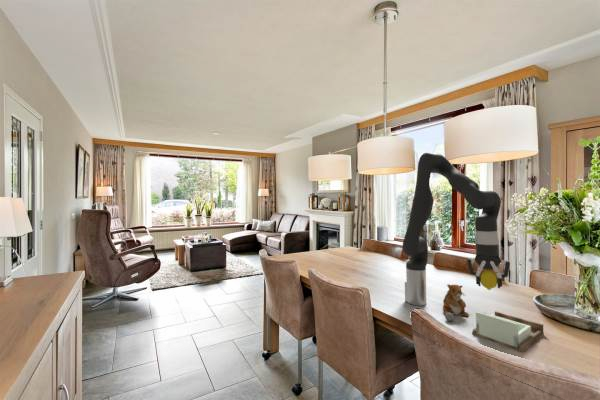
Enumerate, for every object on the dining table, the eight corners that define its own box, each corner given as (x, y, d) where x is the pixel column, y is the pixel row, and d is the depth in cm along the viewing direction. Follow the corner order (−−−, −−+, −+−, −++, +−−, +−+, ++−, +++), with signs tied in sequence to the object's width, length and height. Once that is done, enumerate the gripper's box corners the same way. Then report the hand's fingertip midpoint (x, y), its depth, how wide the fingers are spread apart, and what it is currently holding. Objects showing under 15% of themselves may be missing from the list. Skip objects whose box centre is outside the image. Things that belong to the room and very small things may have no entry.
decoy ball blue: (476, 319, 120) (476, 311, 120) (480, 317, 122) (480, 309, 122) (485, 322, 117) (485, 314, 117) (489, 320, 119) (489, 312, 119)
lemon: (501, 290, 106) (500, 269, 106) (492, 293, 103) (491, 271, 104) (485, 287, 111) (485, 266, 111) (477, 289, 108) (476, 268, 109)
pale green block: (476, 333, 107) (475, 312, 107) (491, 324, 114) (491, 304, 114) (517, 347, 96) (516, 324, 96) (531, 336, 103) (530, 315, 103)
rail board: (472, 333, 108) (471, 324, 108) (495, 320, 120) (495, 311, 120) (522, 352, 95) (522, 340, 95) (543, 334, 106) (543, 324, 106)
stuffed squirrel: (446, 317, 124) (445, 287, 124) (437, 305, 138) (437, 278, 138) (471, 318, 122) (470, 288, 122) (459, 306, 135) (459, 279, 135)
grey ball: (443, 320, 120) (443, 312, 120) (447, 318, 122) (447, 310, 122) (451, 323, 117) (451, 315, 117) (456, 321, 119) (455, 313, 119)
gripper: (509, 242, 107) (511, 286, 106) (465, 240, 115) (467, 282, 114) (511, 244, 101) (513, 292, 100) (464, 243, 108) (466, 286, 108)
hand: (488, 286), depth 107 cm, fingers closed on lemon, 5 cm apart
